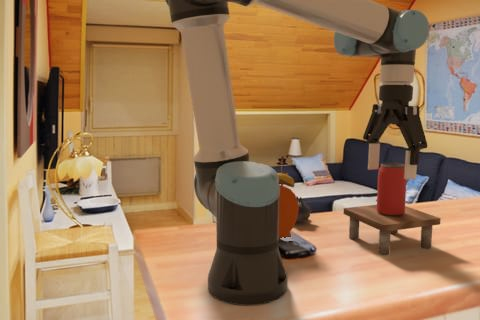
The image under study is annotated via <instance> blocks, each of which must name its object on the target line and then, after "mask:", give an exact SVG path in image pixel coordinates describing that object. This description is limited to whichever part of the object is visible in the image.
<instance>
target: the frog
mask: <svg viewBox="0 0 480 320" xmlns="http://www.w3.org/2000/svg"><path fill="white" fill-rule="evenodd" d="M295 196H296V198H297V200H298V207H299V211H298V218H297V220H296V223H299V222H303V221H308V220H309V219H310V217H311V214H310V213H311V212H312V211H313V207H312V206H310V205H307V204H306V203H305V202H303V198H302V196H299V197H298V195H295Z"/></svg>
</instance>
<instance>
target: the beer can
mask: <svg viewBox="0 0 480 320" xmlns="http://www.w3.org/2000/svg"><path fill="white" fill-rule="evenodd" d="M404 172H405V163H398V162H382V163H381V164H380V167H379V168H378V173H377V189H376V190H377V192H376V193H377V194H376V196H377V197H376V205H377V212H378V213H380V214H382V215H387V216H400V215H402V214H404V213H405V206H406V195H407V180H408V179H404Z"/></svg>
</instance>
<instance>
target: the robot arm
mask: <svg viewBox="0 0 480 320" xmlns="http://www.w3.org/2000/svg"><path fill="white" fill-rule="evenodd" d="M164 1H165V3H166V4H167V6H168V8H169V9H168V10H169V15H170V20H171V21H170V22H171V25H172V27H174V28H175V29H177V31H179V33H180V35H181V42H182V47H183V54H184V60H185V66H186V67H185V68H186V73H187V79H188V85H189V91H190V99H191V103H192V104H191V105H192V109H193V110H192V111H193V118H194V123H195V129H196V136H197V141H198V151H197V153H196V154H195V155H194V156H193V162H194V169H195V170H194V171H195V175H194V178H193V189H194V192H195V193H194V194H195V196H196V199H197V200H198V202H199V203H200V204H201V205H202V207H203V208H205V210H208V211H209V212H210V213H211V215H213V216H214V217H215V219H216V223H215V224H216V249H215V254H214V256H213V259H212V263H211V266H210V268H209V269H210V270H209V273H208V276H207V290H208V293H209V294H210V295H211V296H212V297H214V298H215V299H217V300H220V301H222V302H225V303H227V304H232V305H241V306H242V305H244V306H248V305H249V306H252V305H256V306H257V305H262V304H267V303H271V302H272V303H273V302H274V301H277V300H279V299H280V298H282V297H283V296H284V295H285V294H286V293H287V291H288V276H287V272H286V269H285V265H284V262H283V260H282V256H281V253H280V250H279V239H278V233H279V194H280V187H279V185H280V182H279V178H278V174H277V173H278V172H277V171H276V170H275V169H274V168H273V167H271V166H269V165H267V164H266V163H263V164H261V163H257V162H255V161H251V160H250V154H249V150H248V148H246V147H245V146H243V145H242V144H241V142H240V141H241V140H240V136H239V128H238V121H237V114H236V106H235V100H234V93H233V85H232V84H233V83H232V79H231V72H230V71H231V70H230V65H229V57H228V56H229V55H228V50H227V43H226V37H225V36H226V35H225V30H224V29H225V28H224V27H225V25H226V23H227V22H228V20H229V19H230V10H229V3H232V4H233V3H234V4H237V5H240V6H243V7H246V8H247V7H250V6H251V5H254V4H256V5H258V6H261V7H264V8H267V9H270V10H273V11H276V12H279V13H280V14H284V15H287V16H290V17H292V18H296V19H298V20H302V21H304V22H307V23H309V24H313V25H316V26H318V27H320V28H323V29H327V30H330V31H332V32H334V36H333V46H334V47H333V48H334V50H335V52H336V53H337V54H338V55H339V56H345V57H349V58H352V57H361V58H362V57H364V58H365V57H366V58H380V70H379V82H380V86H379V90H378V100H379V101H380V102H381V104H380V103H377V104H376V103H374V104H373V105H372V110H371V114H370V117H369V120H368V122H367V124H366V128H365V130H364V133H363V136H362V138H363V141H364V140H366V142H367V143H368V145H367V147H368V149H367V155H368V157H367V158H368V159H367V170H369V171H370V170H379V169H380V167H379V165H380V150H381V147H380V146H381V143H380V139H381V138H382V136H383V134H384V133H385V131H386V130H387V128H388V127H389V126H390V125H396V127H398V128H399V131H400V133H401V135H402V137H403V139H404V141H405V143H406V146H407V148H406V150H405V159H404V162H405V163H404V165H405V172H404V179H407V180H416V179H417V168H418V165H419V162H420V161H419V160H420V151H422V150H423V149H427V148H428V141H427V139H426V135H425V132H424V131H425V130H424V128H423V123H422V121H421V120H422V119H421V116H420V114H421V113H420V106H419V105H410V102H411V101H413V96H414V86H413V85H411V84H412V83H414V79H415V64H416V55H417V54H416V51H417V50H418V49H421V47H422V46H424V45H425V44H426V42H427V40H428V37H429V35H430V22H429V20H428V18H427V16H426V15H425V14H424V13H423V12H422V11H420V10H417V9H405V10H402V11H400V10H396V9H394V8H392V7H389V6H386V5H383V4H380V3H378V2H377V1H373V0H164Z"/></svg>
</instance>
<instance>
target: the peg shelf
mask: <svg viewBox="0 0 480 320" xmlns="http://www.w3.org/2000/svg"><path fill="white" fill-rule="evenodd" d="M342 213H343V215H344V216H347V217H349V225H348V228H349V230H348V238H349V239H350V240H359V239H360V223H362V224H365V225H367V226H370V227H372V228H373V229H376V230H379V233H378V234H379V235H378V237H379V238H378V254H379V255H380V256H389V255H390V253H391V251H390V248H391V235H398V234H399V231H401V230H407V229H408V230H409V229H417V228H421V229H420V244H419V245H420V246H419V247H420V248H422V249H425V250H431V249H432V242H433V241H432V239H433V226H437V225H441V218H442V217H441V218H440V217H439V216H434V215H433V214H429V213H426V212H423V211H420V210H418V209H415V208H412V207H410V206H407V205H405V213H404V214H402V215H400V216H387V215H382V214H380V213H378V212H377V204H370V205H361V206H352V207H344V208H343V212H342Z"/></svg>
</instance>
